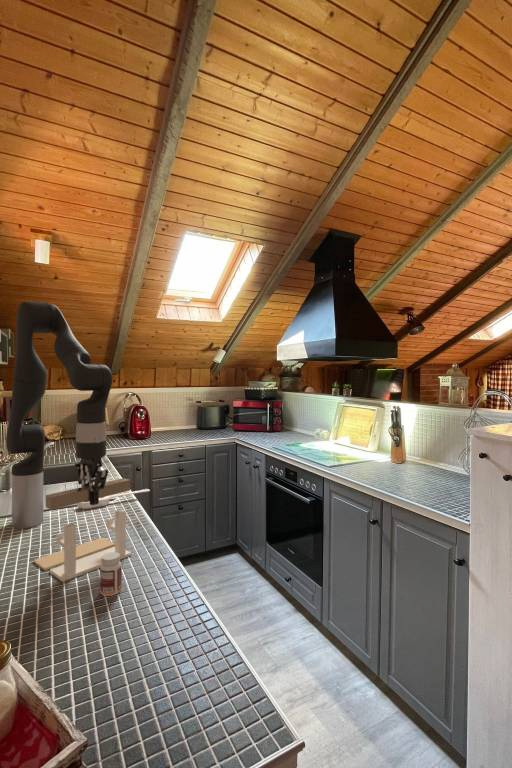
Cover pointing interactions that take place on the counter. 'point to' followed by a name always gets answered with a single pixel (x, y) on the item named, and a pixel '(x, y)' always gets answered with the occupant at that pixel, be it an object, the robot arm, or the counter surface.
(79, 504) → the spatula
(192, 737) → the counter surface
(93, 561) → the rack
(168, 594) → the counter surface
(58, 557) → the tray
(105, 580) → the pill bottle
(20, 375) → the robot arm
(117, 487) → the rail
